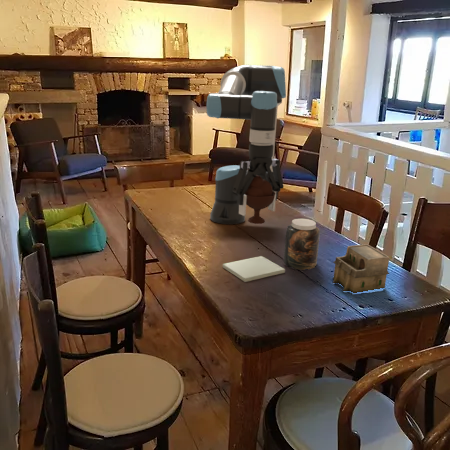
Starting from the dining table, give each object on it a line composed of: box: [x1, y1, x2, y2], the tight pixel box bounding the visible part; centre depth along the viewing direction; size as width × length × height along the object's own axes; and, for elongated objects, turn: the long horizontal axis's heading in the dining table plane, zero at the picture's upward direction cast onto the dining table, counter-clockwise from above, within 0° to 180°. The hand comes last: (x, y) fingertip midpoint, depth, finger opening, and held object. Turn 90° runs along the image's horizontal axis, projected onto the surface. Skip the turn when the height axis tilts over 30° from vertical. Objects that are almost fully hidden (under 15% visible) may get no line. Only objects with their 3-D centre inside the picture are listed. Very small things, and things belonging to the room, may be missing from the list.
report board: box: [222, 255, 286, 283], centre depth 164 cm, size 16×13×1 cm
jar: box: [283, 218, 321, 271], centre depth 169 cm, size 12×12×15 cm
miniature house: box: [332, 243, 390, 293], centre depth 156 cm, size 15×14×11 cm
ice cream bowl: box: [245, 175, 275, 225], centre depth 157 cm, size 11×11×15 cm
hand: (256, 212), depth 158 cm, fingers closed on ice cream bowl, 11 cm apart
